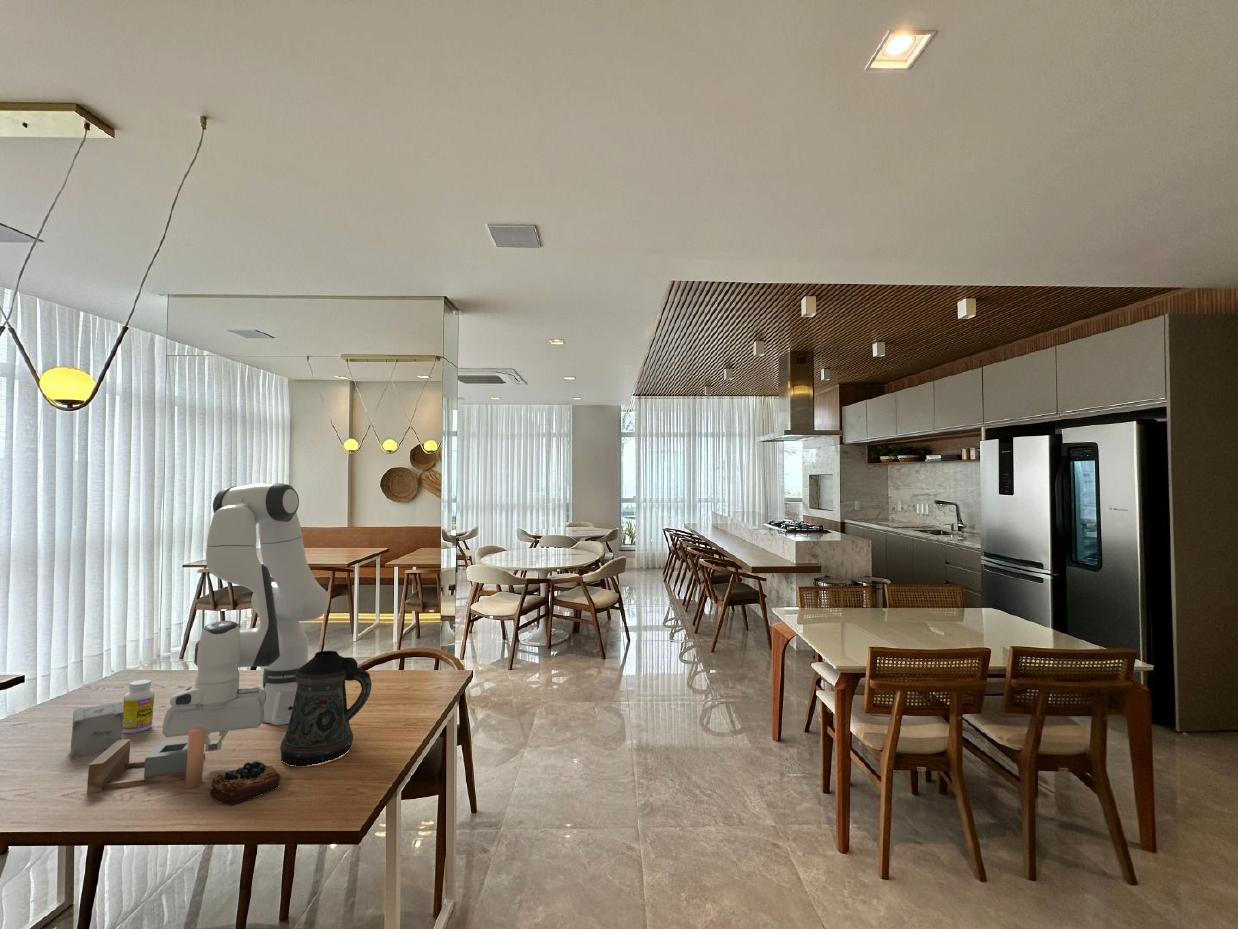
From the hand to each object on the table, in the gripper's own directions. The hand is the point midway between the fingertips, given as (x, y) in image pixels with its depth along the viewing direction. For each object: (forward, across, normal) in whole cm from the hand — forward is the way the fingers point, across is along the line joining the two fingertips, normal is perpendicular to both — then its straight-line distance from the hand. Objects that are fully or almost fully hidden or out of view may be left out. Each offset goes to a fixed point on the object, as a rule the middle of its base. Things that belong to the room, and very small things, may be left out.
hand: (213, 750), depth 141 cm
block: (+4, +8, 0) cm, 9 cm away
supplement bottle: (+4, +26, -33) cm, 42 cm away
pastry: (+4, -10, +16) cm, 20 cm away
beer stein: (+4, -24, 0) cm, 24 cm away
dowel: (+4, +1, +10) cm, 11 cm away
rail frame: (+4, +12, 0) cm, 13 cm away
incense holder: (+4, +30, -20) cm, 36 cm away
